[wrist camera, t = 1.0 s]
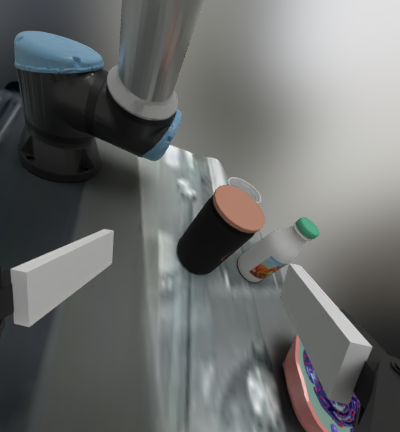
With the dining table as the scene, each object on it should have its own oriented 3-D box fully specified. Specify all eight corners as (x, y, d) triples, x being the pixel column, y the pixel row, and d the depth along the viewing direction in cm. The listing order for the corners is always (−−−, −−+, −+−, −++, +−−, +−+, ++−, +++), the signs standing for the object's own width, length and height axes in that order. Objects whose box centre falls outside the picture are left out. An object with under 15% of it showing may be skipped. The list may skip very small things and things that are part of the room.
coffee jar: (208, 285, 42) (262, 242, 30) (167, 258, 41) (207, 204, 30) (220, 251, 50) (266, 207, 38) (186, 228, 49) (223, 176, 38)
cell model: (346, 503, 29) (440, 539, 22) (250, 390, 33) (303, 388, 25) (346, 389, 42) (405, 387, 34) (276, 316, 45) (317, 300, 38)
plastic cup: (226, 201, 66) (247, 176, 58) (242, 227, 61) (268, 202, 53) (202, 202, 59) (222, 173, 52) (218, 231, 54) (243, 204, 47)
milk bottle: (232, 268, 48) (293, 221, 35) (241, 250, 54) (297, 204, 41) (256, 289, 47) (327, 249, 35) (263, 269, 53) (326, 228, 40)
